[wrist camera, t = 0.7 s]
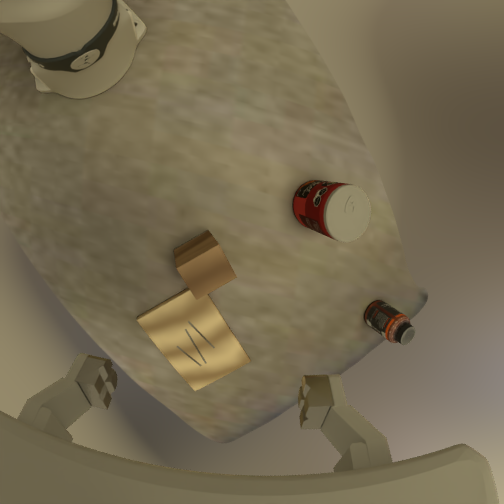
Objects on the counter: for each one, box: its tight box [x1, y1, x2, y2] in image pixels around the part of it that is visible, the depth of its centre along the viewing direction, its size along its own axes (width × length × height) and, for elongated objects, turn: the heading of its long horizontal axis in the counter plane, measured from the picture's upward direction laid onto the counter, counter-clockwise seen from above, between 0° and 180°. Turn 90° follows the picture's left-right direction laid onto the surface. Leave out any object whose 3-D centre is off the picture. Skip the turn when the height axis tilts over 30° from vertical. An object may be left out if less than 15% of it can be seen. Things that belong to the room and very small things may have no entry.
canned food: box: [293, 180, 371, 242], centre depth 44 cm, size 8×8×11 cm
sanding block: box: [174, 230, 237, 300], centre depth 41 cm, size 5×6×9 cm
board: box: [137, 288, 251, 391], centre depth 49 cm, size 18×12×1 cm, turn 26°
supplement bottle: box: [365, 300, 415, 345], centre depth 54 cm, size 6×6×11 cm
